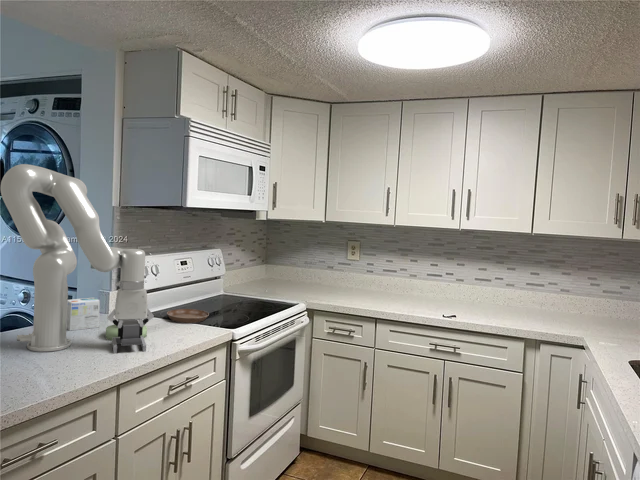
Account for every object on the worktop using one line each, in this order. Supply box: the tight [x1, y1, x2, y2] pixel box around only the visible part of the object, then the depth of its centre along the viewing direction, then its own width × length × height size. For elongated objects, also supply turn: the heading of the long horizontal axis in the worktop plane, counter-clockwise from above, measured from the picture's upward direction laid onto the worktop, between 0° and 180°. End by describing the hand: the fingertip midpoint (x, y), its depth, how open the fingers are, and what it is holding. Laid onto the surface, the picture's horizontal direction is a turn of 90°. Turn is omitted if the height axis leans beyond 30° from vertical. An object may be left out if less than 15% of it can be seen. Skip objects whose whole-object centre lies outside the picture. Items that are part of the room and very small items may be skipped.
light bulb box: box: [67, 297, 101, 332], centre depth 178 cm, size 11×7×11 cm, turn 134°
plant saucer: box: [166, 308, 210, 324], centre depth 202 cm, size 18×18×3 cm
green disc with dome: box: [105, 320, 148, 354], centre depth 165 cm, size 14×26×7 cm, turn 26°
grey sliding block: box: [120, 320, 141, 347], centre depth 158 cm, size 6×10×6 cm, turn 26°
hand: (130, 337), depth 159 cm, fingers closed on grey sliding block, 5 cm apart
